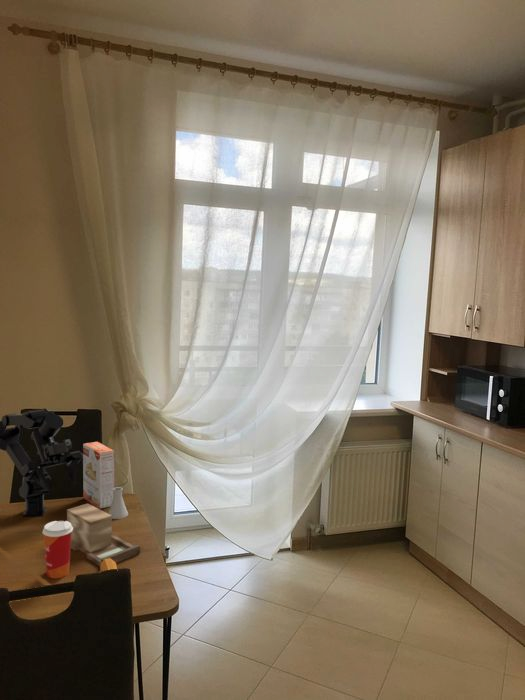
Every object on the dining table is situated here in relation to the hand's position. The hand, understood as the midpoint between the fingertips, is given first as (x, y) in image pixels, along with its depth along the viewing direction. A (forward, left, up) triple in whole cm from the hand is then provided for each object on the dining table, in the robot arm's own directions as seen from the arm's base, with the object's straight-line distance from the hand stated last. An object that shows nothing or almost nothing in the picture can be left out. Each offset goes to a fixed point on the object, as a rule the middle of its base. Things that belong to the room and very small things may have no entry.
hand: (62, 487), depth 177 cm
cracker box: (-21, +9, -14) cm, 26 cm away
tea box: (+12, +10, -13) cm, 20 cm away
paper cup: (+30, +5, -14) cm, 34 cm away
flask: (-8, +17, -14) cm, 23 cm away
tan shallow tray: (+15, +12, -14) cm, 24 cm away
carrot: (+38, +20, -14) cm, 45 cm away
